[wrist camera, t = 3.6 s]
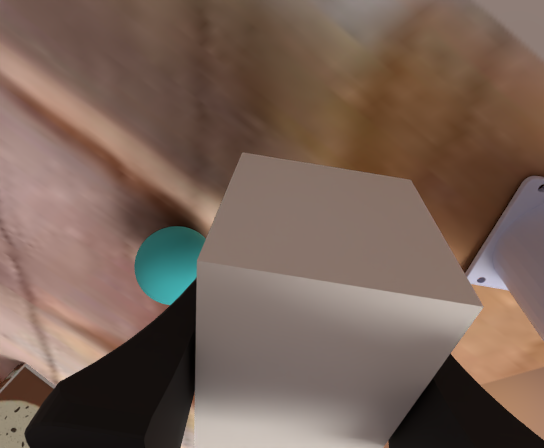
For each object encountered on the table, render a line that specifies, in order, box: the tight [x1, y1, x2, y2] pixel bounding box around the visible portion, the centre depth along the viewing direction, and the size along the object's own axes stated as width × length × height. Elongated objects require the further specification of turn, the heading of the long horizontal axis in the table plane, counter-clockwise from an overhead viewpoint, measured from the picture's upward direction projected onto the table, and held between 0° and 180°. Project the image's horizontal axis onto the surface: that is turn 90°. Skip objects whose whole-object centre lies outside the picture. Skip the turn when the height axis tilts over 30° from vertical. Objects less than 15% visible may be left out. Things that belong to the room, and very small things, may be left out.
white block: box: [194, 152, 483, 448], centre depth 12 cm, size 6×10×6 cm, turn 172°
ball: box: [135, 226, 206, 305], centre depth 22 cm, size 5×5×5 cm
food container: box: [0, 363, 56, 448], centre depth 34 cm, size 12×6×10 cm, turn 24°
